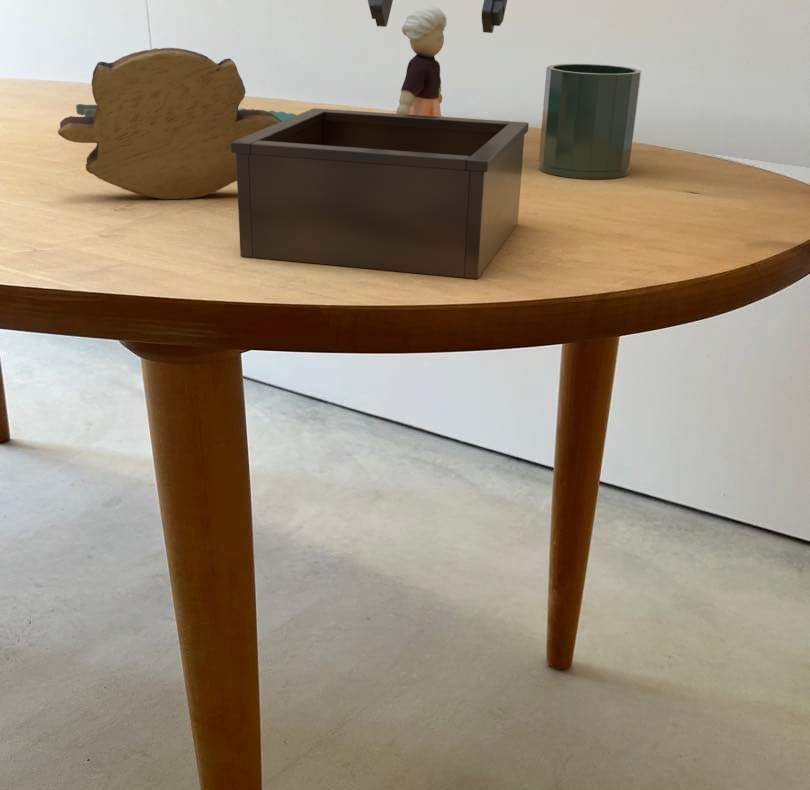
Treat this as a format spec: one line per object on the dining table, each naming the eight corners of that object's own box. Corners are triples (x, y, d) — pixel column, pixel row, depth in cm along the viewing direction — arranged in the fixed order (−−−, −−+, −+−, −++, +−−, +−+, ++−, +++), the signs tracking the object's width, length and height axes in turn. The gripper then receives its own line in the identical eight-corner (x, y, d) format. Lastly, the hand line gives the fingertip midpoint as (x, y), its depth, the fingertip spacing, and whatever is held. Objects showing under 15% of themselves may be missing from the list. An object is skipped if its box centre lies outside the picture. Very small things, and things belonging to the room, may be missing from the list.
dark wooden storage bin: (521, 223, 76) (528, 122, 73) (480, 280, 64) (487, 161, 61) (314, 205, 80) (312, 108, 76) (235, 256, 67) (230, 142, 64)
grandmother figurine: (437, 192, 85) (445, 8, 79) (388, 188, 85) (392, 6, 79) (452, 173, 91) (460, 3, 85) (406, 170, 92) (411, 1, 86)
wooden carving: (284, 185, 85) (280, 44, 81) (299, 198, 82) (296, 50, 77) (63, 194, 81) (45, 44, 76) (67, 208, 77) (49, 51, 72)
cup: (631, 165, 97) (644, 66, 93) (625, 182, 90) (637, 76, 87) (545, 159, 98) (553, 61, 95) (532, 175, 92) (541, 70, 88)
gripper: (377, -186, 88) (334, -19, 84) (556, -184, 85) (521, -11, 81) (392, -107, 95) (353, 51, 91) (558, -102, 92) (526, 61, 88)
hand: (432, 22), depth 86 cm, fingers open, 8 cm apart
